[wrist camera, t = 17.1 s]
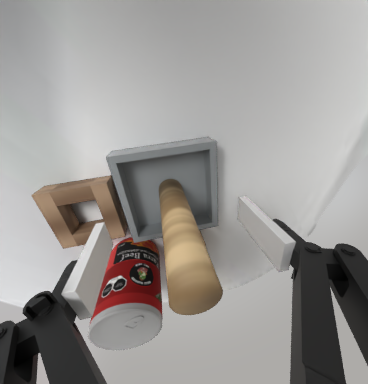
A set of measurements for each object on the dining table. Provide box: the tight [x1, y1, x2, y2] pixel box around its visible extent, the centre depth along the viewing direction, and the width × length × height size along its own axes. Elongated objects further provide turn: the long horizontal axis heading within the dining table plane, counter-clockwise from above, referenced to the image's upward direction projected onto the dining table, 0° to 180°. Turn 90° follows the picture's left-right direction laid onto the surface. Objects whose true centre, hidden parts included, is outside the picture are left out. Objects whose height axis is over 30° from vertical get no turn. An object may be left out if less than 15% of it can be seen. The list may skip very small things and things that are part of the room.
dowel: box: [159, 179, 223, 315], centre depth 16 cm, size 3×3×15 cm
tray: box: [106, 137, 218, 243], centre depth 22 cm, size 12×12×3 cm
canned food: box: [88, 238, 162, 350], centre depth 23 cm, size 8×8×11 cm
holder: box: [32, 176, 127, 249], centre depth 22 cm, size 8×8×2 cm
